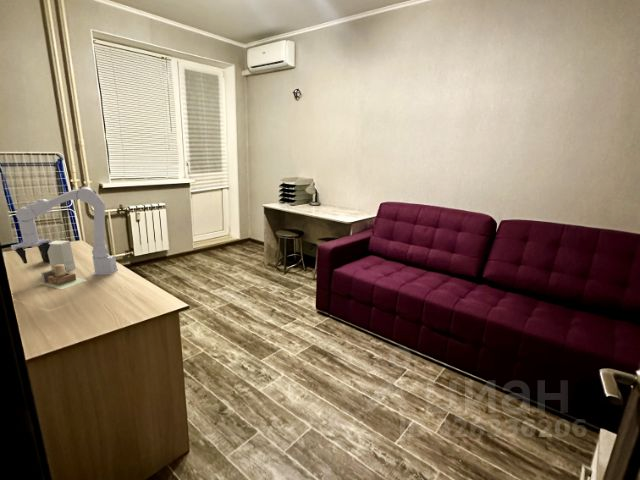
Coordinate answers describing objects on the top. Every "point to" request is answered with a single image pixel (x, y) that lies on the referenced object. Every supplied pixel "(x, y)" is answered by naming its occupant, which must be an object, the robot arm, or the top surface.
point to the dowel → (60, 270)
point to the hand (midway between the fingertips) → (35, 260)
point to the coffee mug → (41, 254)
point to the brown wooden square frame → (61, 279)
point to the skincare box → (61, 254)
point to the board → (74, 282)
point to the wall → (48, 274)
